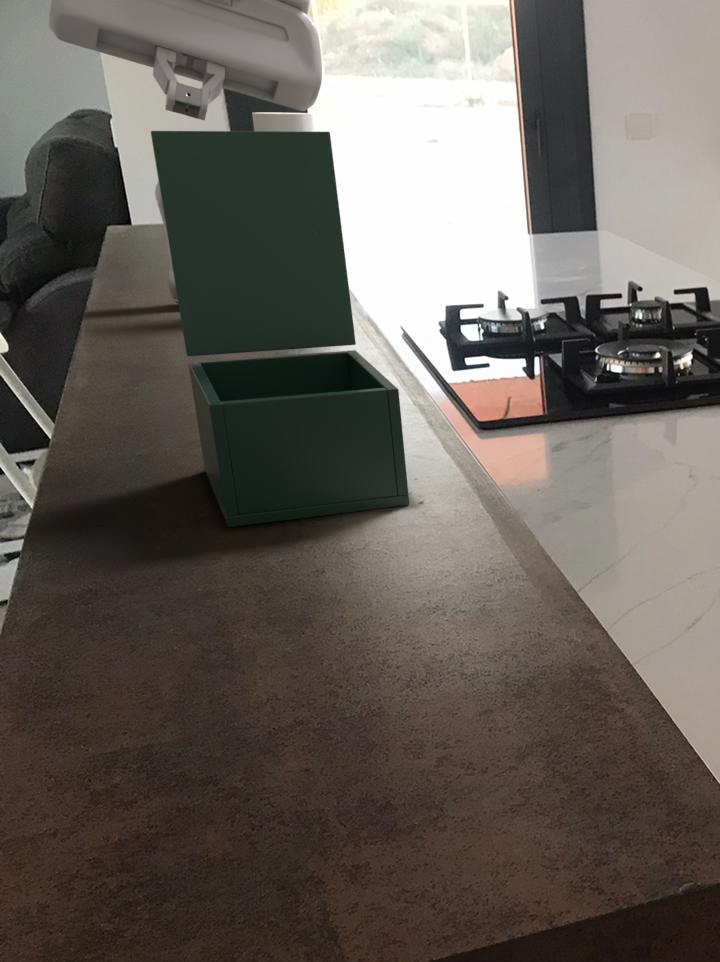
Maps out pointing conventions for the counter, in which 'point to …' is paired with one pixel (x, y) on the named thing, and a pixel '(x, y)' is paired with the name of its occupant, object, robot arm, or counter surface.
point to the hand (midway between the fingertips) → (186, 110)
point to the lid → (254, 240)
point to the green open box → (299, 436)
